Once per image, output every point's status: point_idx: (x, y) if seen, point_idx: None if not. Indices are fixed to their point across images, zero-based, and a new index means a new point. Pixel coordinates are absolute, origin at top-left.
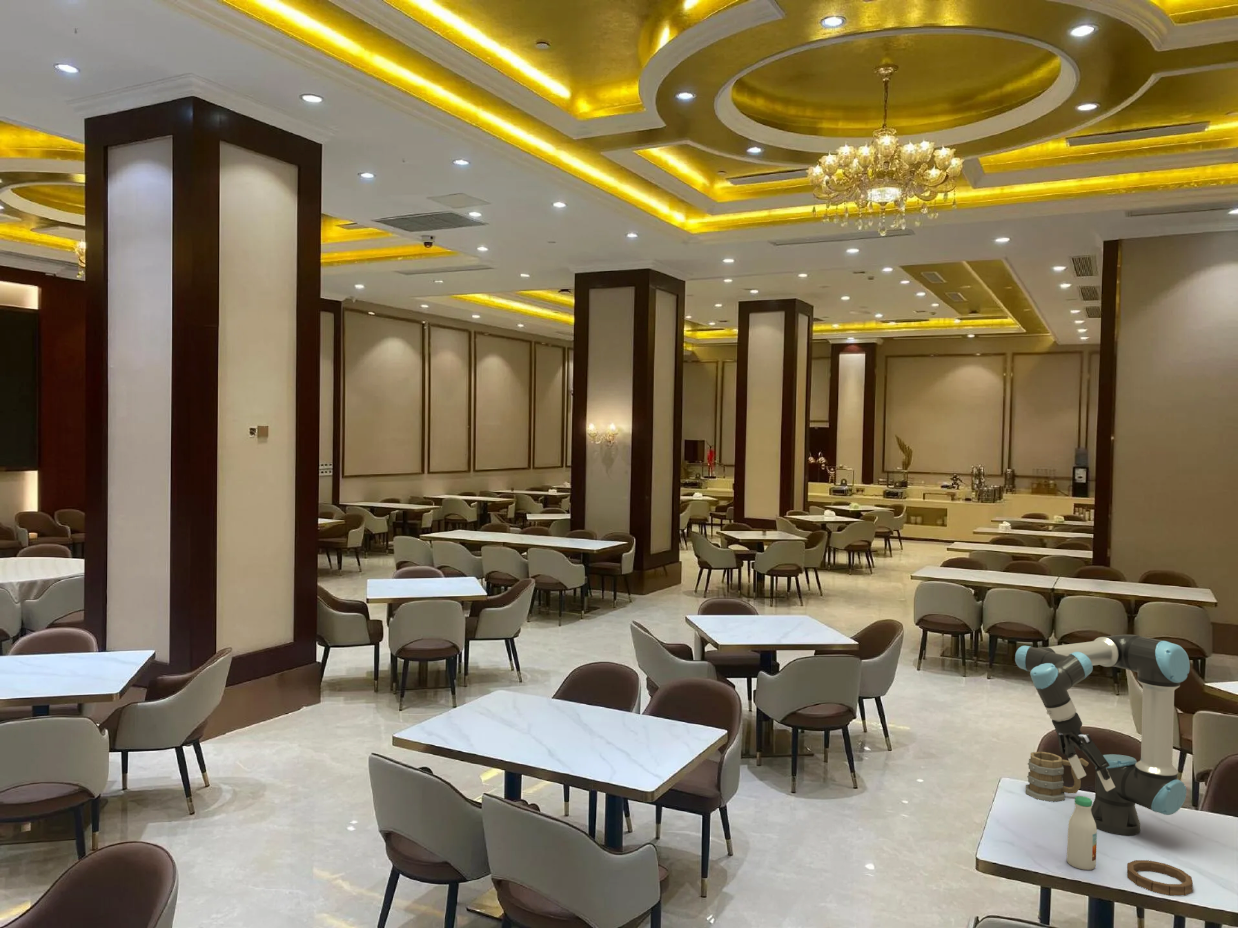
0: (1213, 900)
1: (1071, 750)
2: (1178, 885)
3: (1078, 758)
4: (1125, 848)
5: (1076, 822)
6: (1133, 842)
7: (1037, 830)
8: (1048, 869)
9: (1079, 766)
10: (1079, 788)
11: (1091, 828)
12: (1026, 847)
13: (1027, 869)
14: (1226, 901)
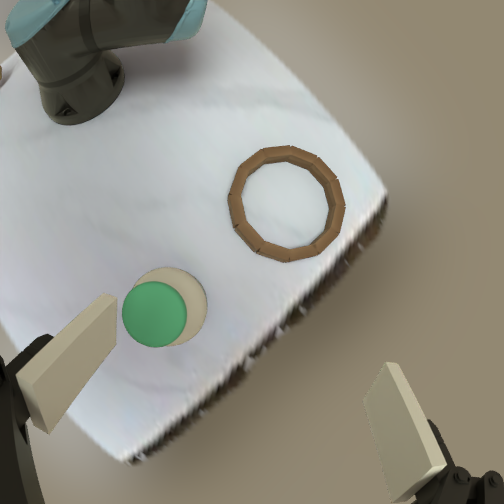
0: (360, 180)
1: (29, 473)
2: (339, 213)
3: (50, 364)
4: (153, 140)
5: (174, 344)
6: (142, 106)
7: (31, 253)
8: (178, 388)
9: (82, 348)
10: (1, 69)
11: (204, 312)
12: None
13: (168, 426)
14: (366, 163)
